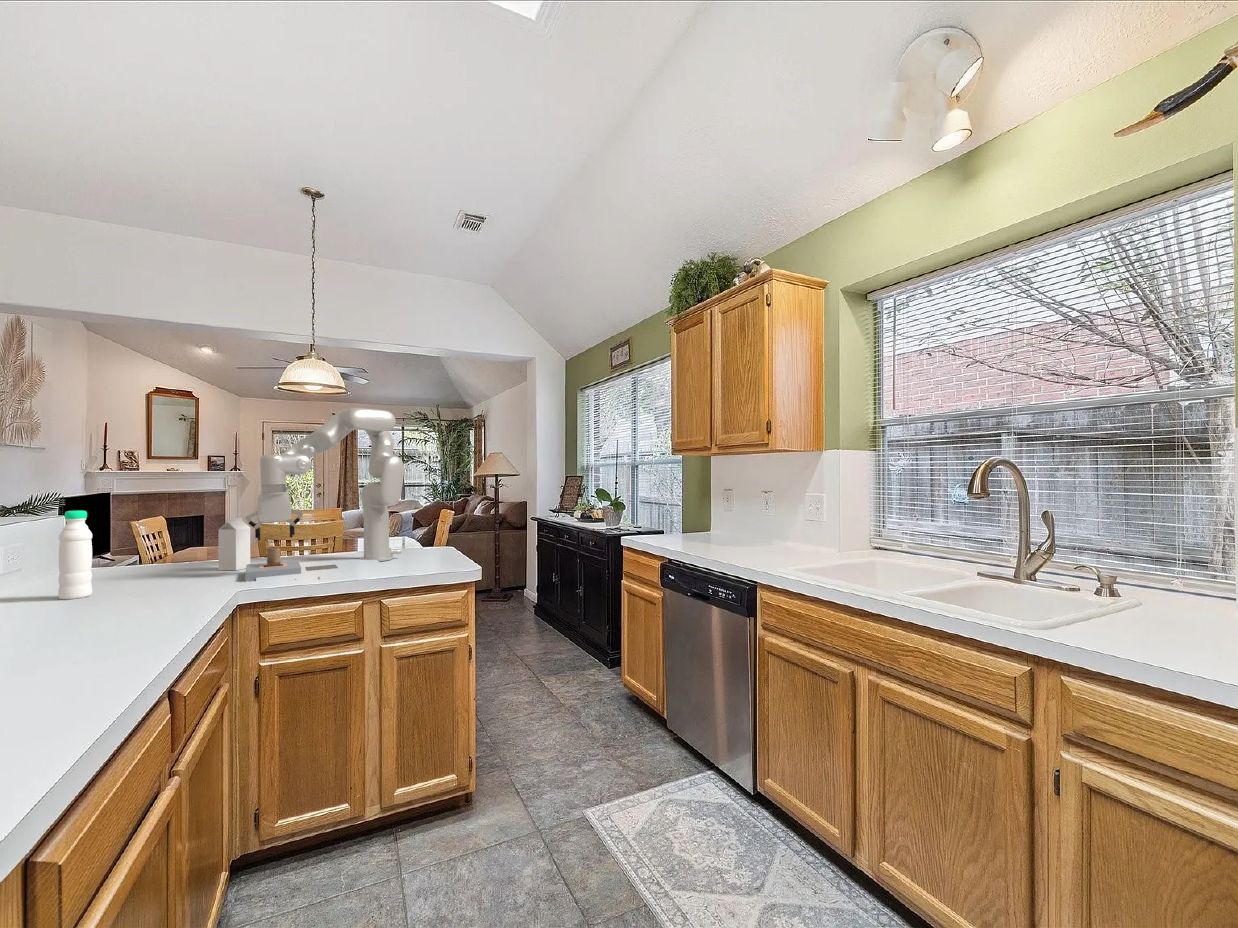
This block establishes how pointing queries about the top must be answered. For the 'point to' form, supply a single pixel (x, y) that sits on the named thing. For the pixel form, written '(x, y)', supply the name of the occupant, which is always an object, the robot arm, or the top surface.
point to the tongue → (321, 567)
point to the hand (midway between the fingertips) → (275, 538)
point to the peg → (273, 557)
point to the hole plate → (271, 570)
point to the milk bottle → (75, 557)
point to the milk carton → (233, 545)
